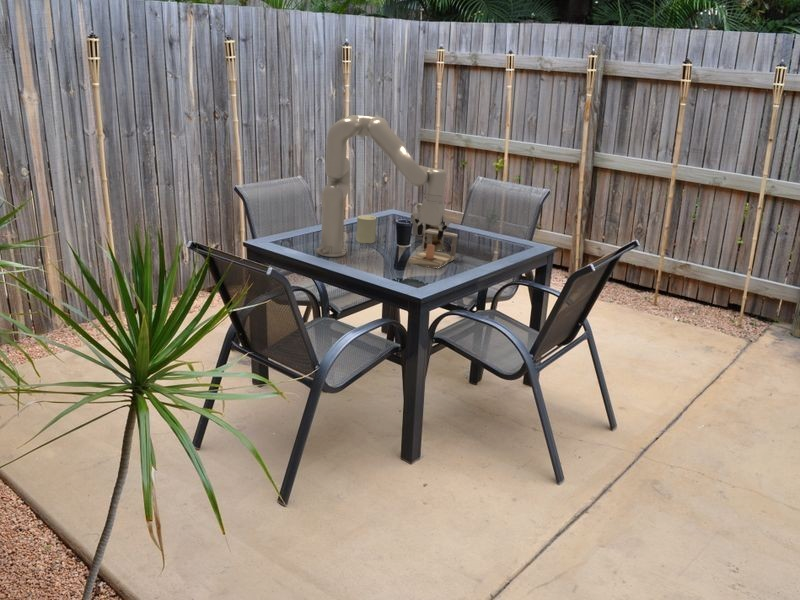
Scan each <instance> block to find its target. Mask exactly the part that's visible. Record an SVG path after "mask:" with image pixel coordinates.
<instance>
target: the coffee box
mask: <svg viewBox="0 0 800 600" xmlns="http://www.w3.org/2000/svg"><path fill="white" fill-rule="evenodd" d="M445 224H446V223H445V222H444V223H443V226H445ZM427 229H434V230H439V228H438V226H433V225H429V224H424V230H423V237H422V240H421V241H422V242H421V249H422V252H424V251H426V249H427V239H428V233H426V232H425V230H427ZM439 231H440V230H439ZM437 238H438V235H436V234H433V236H432V245H435V247H434V251H435V252H438V251H437V250H440V251H439V252H441V250H442V251H443V247H444V246H443V245H444V238H445V236H443V238H442V239H440V240H438V239H437Z"/></svg>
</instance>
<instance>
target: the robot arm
mask: <svg viewBox="0 0 800 600" xmlns="http://www.w3.org/2000/svg"><path fill="white" fill-rule="evenodd" d="M356 136H362V137H369V138H371V140H372V141H373V142H374V143H375V144H376V145H377V146H378V147H379V148H380V149H381V150H382V151H383V152H384V154H385V155H387V157H388V158H389V159H390V161H391V162H392V163H393V165H394V166H395V167H396V169H397V170H398V171H399V172H400V173H401V175H402V176H403V177H404V178H405V179H406V180H407V181H408V182H409V183H410V184H411V185H412V186H414V187H423V186H424V185H425V184H427V185H426V192H425V193H422V194H423V197H425V199H422V203H421V206H420V207H421V208H420V210H419V211H420V212H419V211H418V212H415V213H416V214H414V218H415V221H416V223H417V226H418V230H417V232H418V235H421V234H422V231H423V225H422V224H423V223H424V224H429V225H433V226H438V228H439V230H440V231H438V238H437V239H438V240H440V239H442V238H443V232H445V230H446V229H448V228H449V226H450V225H451V221H450V220H449V219H448V218H447V217H445V214H446V213H445V202H444V196H445V189H446V182H447V181H446V180H447V171H446V170H445V169H442V168H436V167H435V168H433V167H429V166H424V165H421V164H420V165H419V164H418V163H417V162H416V161H415V160H414V158H413V157H412V156H411V154H410V153H409V151H408V149H407V147H406V144H405V143H404V142H403V140H402V139H401V138H400V137H399V136H398V135H397V134H396V133H395V132H394V131H393V130H392V129H391V128H390V125H389V122H388V120H386V119H385V118H383V117H378V116H369V115H359V114H358V115H357V114H352V115H349V116H345V117H343V118H341V119H339V120H337V121H336V122H334V123H333V124H332V126H331V127H330V128H329V130H328V132H327V136H326V147H325V162H324V163H325V164H324V172H325V175H326V176H327V184H326V185H325V186H324V187H323V190H322V193H321V208H322V209H321V235H320V236H321V237H320V238H321V239H320V245H319V247H317V248H315V252H316V253H317V254H318V255H320V256H321V257H322V256H323V257H328V258H329V257H330V258H338V257H339V258H340V257H344V256H345V255H346V253H347V252H346V249H343V248H344V247H343V245H344V225H345V219H344V218H345V198H346V197H347V195H348V194H349V189H350V188H349V187H350V171H351V164H350V161H349V159H348V158H347V150H348V149H347V147H348V145H347V144H348V143H347V142H348V140H349V139H351V138H354V137H356ZM419 215H420V216H419ZM418 216H419V219H418ZM444 222H445V226H443V223H444Z"/></svg>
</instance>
